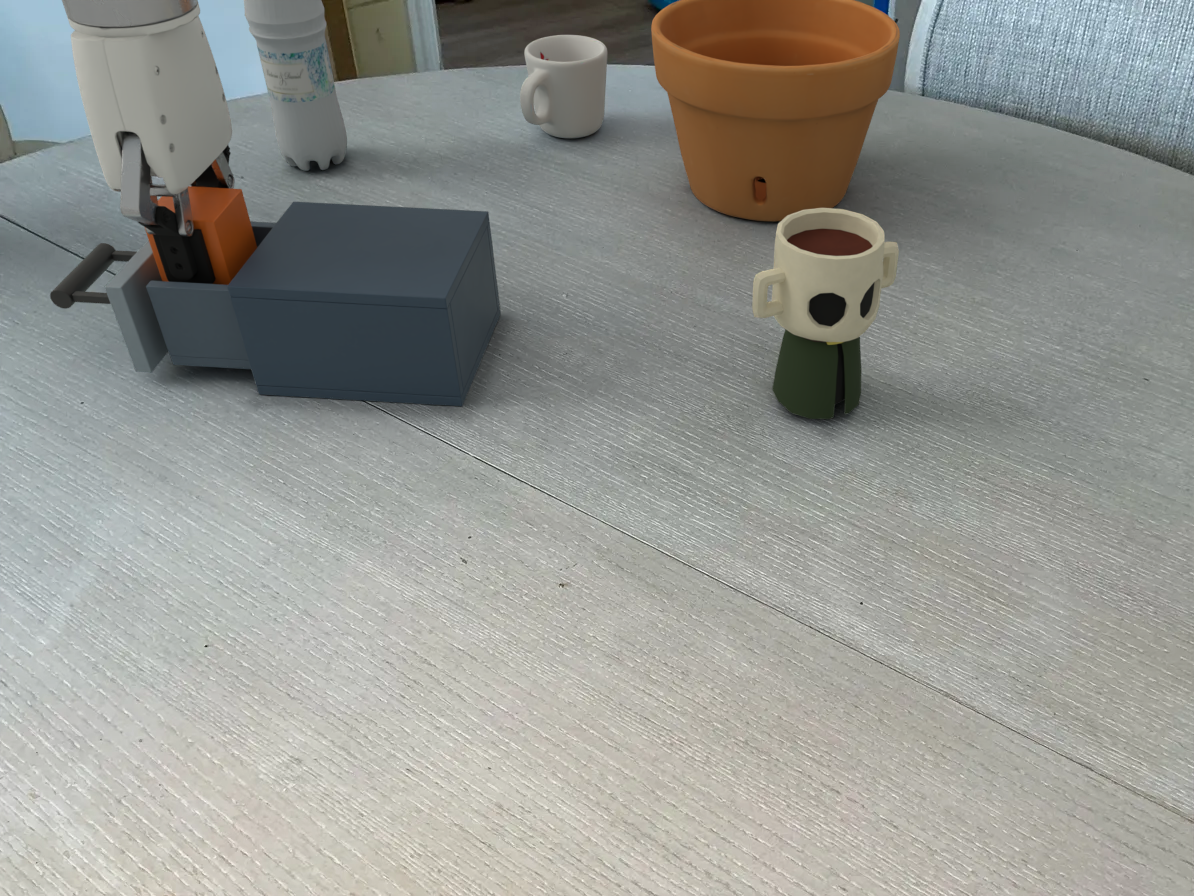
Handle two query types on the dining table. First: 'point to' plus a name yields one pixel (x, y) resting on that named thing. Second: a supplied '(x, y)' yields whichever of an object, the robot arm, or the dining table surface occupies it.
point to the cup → (565, 85)
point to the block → (217, 229)
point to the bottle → (299, 80)
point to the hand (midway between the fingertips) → (208, 260)
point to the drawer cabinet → (369, 303)
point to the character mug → (823, 304)
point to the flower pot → (772, 97)
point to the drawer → (162, 309)
